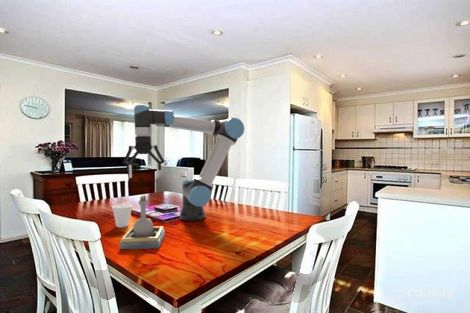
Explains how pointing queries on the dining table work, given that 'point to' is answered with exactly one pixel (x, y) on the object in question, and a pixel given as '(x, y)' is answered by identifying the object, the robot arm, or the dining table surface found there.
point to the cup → (122, 214)
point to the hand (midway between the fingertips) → (144, 177)
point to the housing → (142, 239)
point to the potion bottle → (143, 221)
